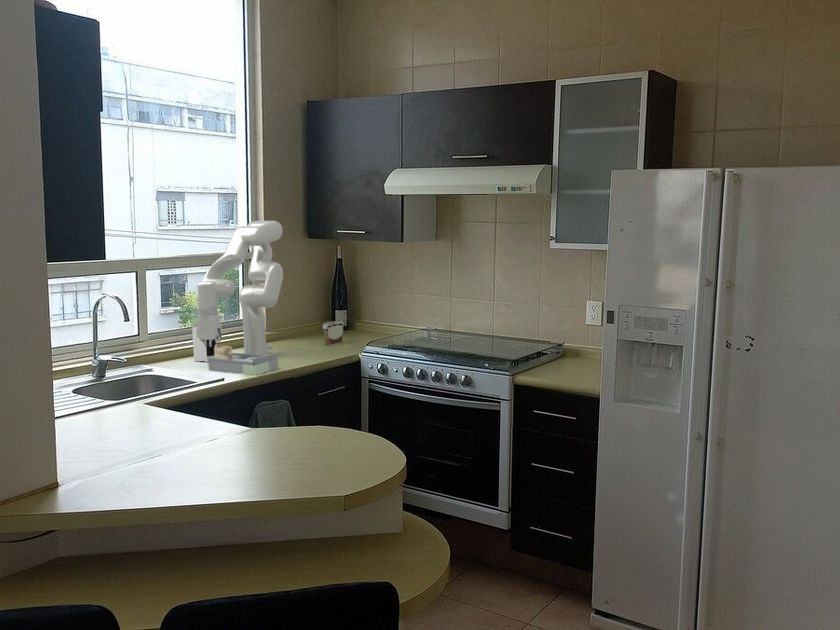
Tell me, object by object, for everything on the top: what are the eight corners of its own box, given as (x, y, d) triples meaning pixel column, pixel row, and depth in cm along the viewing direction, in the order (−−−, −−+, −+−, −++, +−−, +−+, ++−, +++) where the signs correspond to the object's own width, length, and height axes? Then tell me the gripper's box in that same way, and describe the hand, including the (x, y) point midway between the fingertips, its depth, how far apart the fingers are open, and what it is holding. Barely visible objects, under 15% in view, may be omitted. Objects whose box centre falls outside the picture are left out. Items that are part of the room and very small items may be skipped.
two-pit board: (232, 364, 338) (231, 349, 337) (277, 368, 327) (277, 352, 326) (209, 370, 326) (208, 354, 325) (255, 375, 315) (254, 358, 314)
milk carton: (217, 359, 350) (215, 316, 347) (207, 362, 344) (204, 318, 341) (204, 358, 353) (202, 315, 350) (193, 361, 346) (191, 317, 344)
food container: (335, 341, 393) (334, 320, 392) (344, 342, 390) (343, 321, 388) (317, 344, 383) (316, 324, 382) (327, 345, 380) (326, 324, 378)
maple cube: (223, 358, 331) (222, 346, 330) (232, 358, 329) (232, 346, 328) (214, 360, 327) (214, 347, 326) (224, 361, 324) (223, 348, 324)
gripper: (188, 311, 329) (190, 356, 331) (215, 313, 321) (218, 358, 324) (201, 309, 335) (203, 353, 338) (228, 311, 328) (231, 355, 330)
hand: (210, 355), depth 331 cm, fingers closed
